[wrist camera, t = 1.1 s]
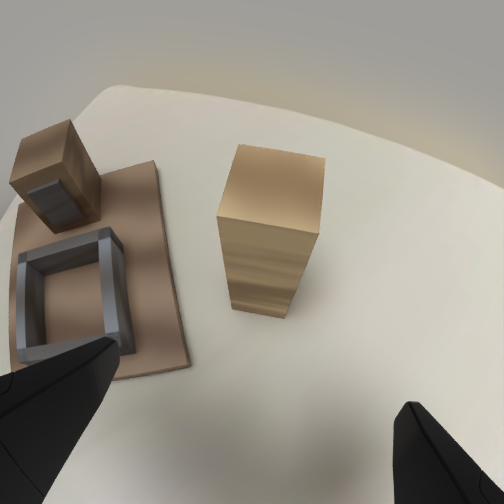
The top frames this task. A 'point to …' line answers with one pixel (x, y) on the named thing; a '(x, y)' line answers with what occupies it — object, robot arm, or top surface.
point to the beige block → (269, 226)
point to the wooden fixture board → (90, 259)
